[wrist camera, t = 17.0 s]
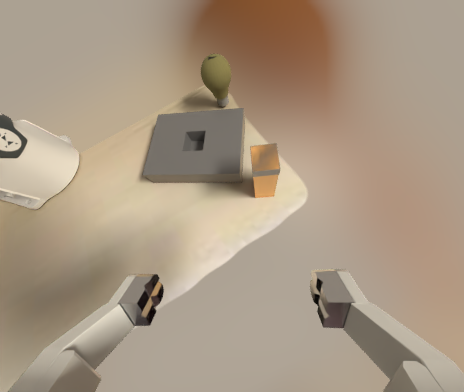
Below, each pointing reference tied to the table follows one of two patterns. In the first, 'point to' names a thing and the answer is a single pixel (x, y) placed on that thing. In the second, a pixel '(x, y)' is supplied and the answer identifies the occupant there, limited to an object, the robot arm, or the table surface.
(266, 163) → the plug
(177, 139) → the grey block with hole
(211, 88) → the light bulb
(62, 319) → the table surface
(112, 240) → the table surface
